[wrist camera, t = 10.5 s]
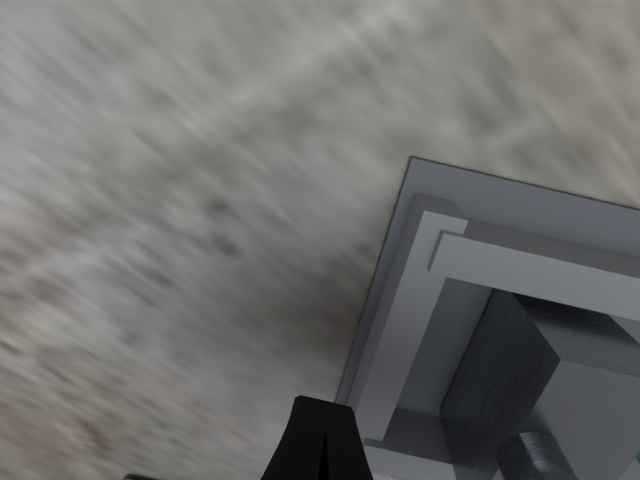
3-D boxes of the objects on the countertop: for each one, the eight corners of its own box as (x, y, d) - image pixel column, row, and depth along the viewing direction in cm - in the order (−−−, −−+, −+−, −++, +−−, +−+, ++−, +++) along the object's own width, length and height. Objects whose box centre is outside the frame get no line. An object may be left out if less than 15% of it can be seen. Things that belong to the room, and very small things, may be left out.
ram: (525, 432, 15) (702, 798, 7) (423, 409, 15) (497, 755, 7) (602, 301, 13) (975, 636, 5) (482, 273, 13) (678, 570, 5)
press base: (691, 517, 17) (765, 614, 14) (324, 436, 17) (318, 516, 14) (915, 274, 12) (1102, 340, 9) (410, 155, 12) (430, 183, 9)
